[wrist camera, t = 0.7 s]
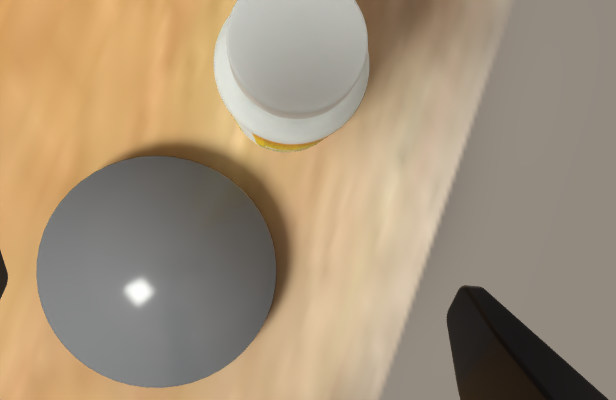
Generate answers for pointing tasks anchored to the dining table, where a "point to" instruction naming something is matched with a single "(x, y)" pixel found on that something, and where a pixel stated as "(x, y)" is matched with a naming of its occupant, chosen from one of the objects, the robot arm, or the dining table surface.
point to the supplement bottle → (292, 69)
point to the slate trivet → (156, 271)
